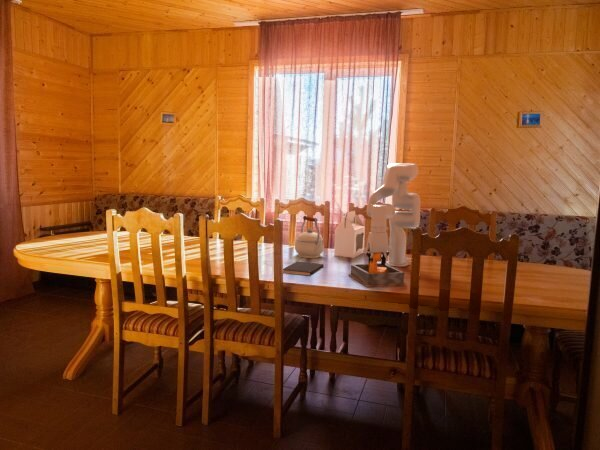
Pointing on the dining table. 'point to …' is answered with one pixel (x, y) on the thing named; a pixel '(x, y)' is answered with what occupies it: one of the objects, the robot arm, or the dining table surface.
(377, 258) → the bracket
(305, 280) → the dining table surface
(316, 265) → the hardcover book
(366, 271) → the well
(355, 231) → the gable box
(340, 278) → the dining table surface
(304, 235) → the kettle
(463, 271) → the dining table surface
